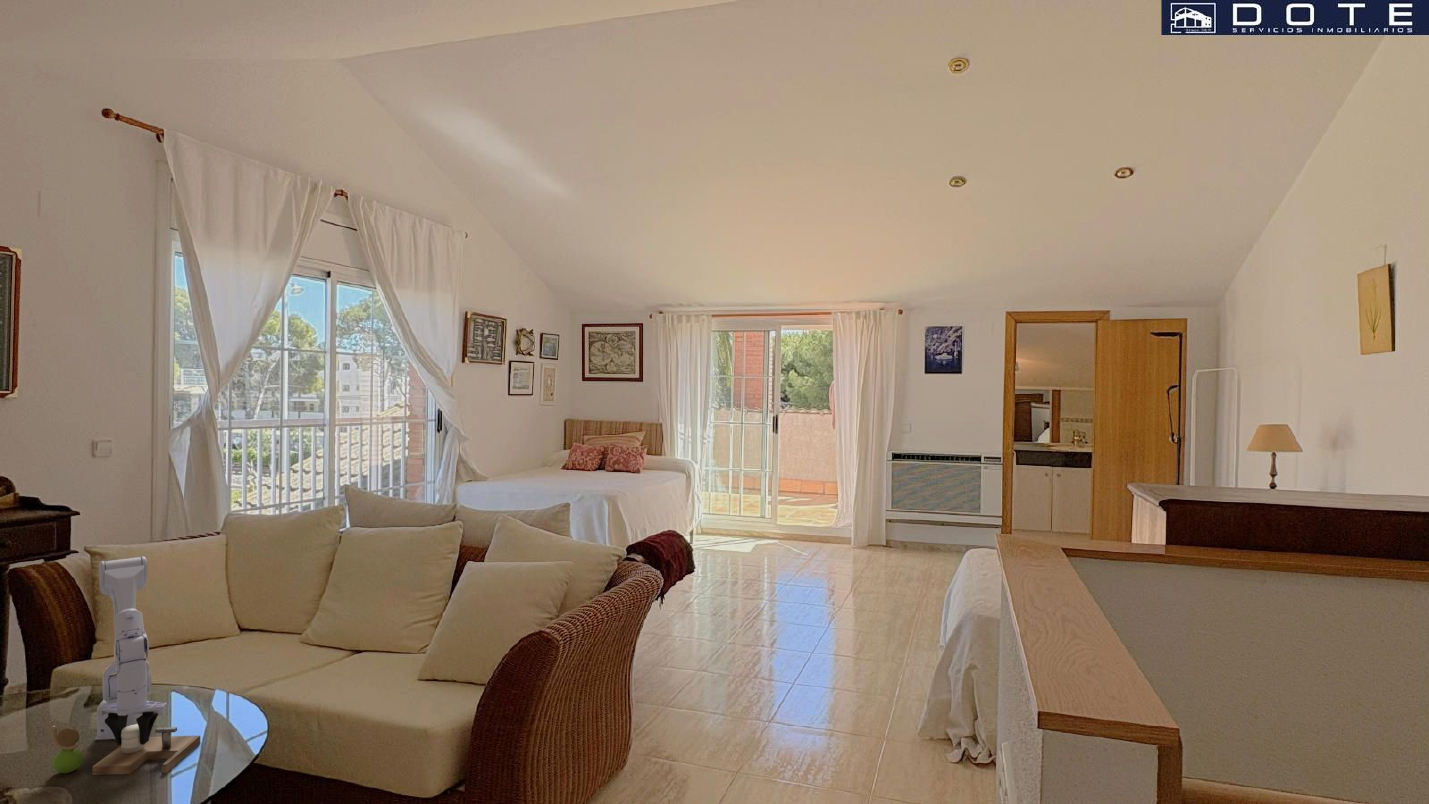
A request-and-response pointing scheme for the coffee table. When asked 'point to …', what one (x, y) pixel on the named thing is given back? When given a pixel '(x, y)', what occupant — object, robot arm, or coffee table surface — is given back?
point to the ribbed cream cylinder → (131, 739)
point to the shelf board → (147, 755)
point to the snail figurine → (66, 749)
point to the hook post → (166, 736)
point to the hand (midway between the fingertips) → (133, 743)
